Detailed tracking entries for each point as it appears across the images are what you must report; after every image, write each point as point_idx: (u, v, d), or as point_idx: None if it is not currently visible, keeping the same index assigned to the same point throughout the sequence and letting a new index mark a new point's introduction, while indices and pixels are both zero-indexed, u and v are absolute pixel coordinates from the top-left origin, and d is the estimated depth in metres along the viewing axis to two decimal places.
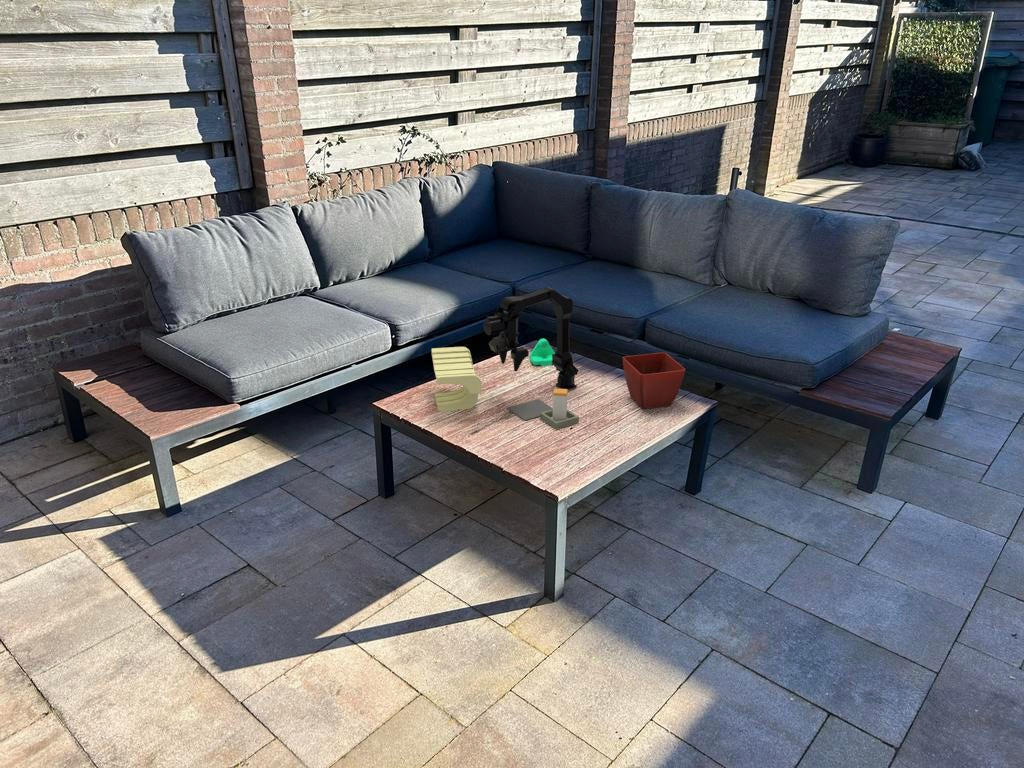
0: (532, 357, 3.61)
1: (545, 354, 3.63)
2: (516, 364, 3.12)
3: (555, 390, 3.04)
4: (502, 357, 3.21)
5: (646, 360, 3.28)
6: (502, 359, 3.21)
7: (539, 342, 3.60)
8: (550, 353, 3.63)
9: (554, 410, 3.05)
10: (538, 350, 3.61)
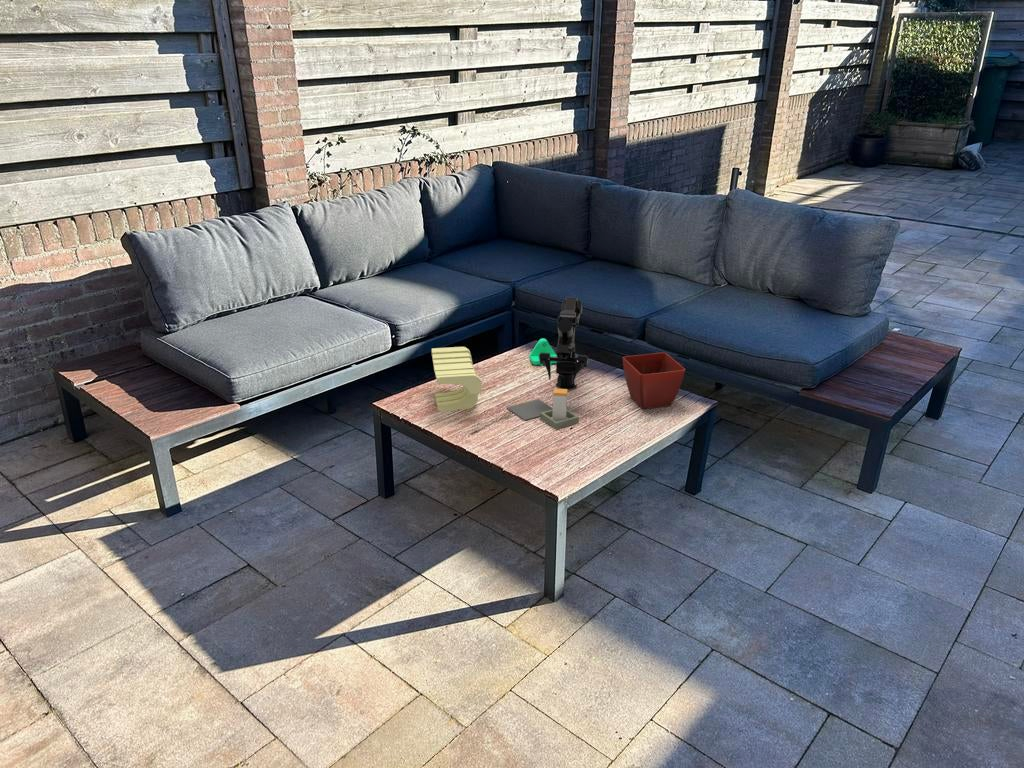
0: (532, 357, 3.61)
1: None
2: (577, 372, 3.10)
3: (555, 390, 3.04)
4: (550, 372, 3.12)
5: (646, 360, 3.28)
6: (550, 373, 3.11)
7: (539, 342, 3.60)
8: (550, 353, 3.64)
9: (554, 410, 3.05)
10: (538, 350, 3.62)
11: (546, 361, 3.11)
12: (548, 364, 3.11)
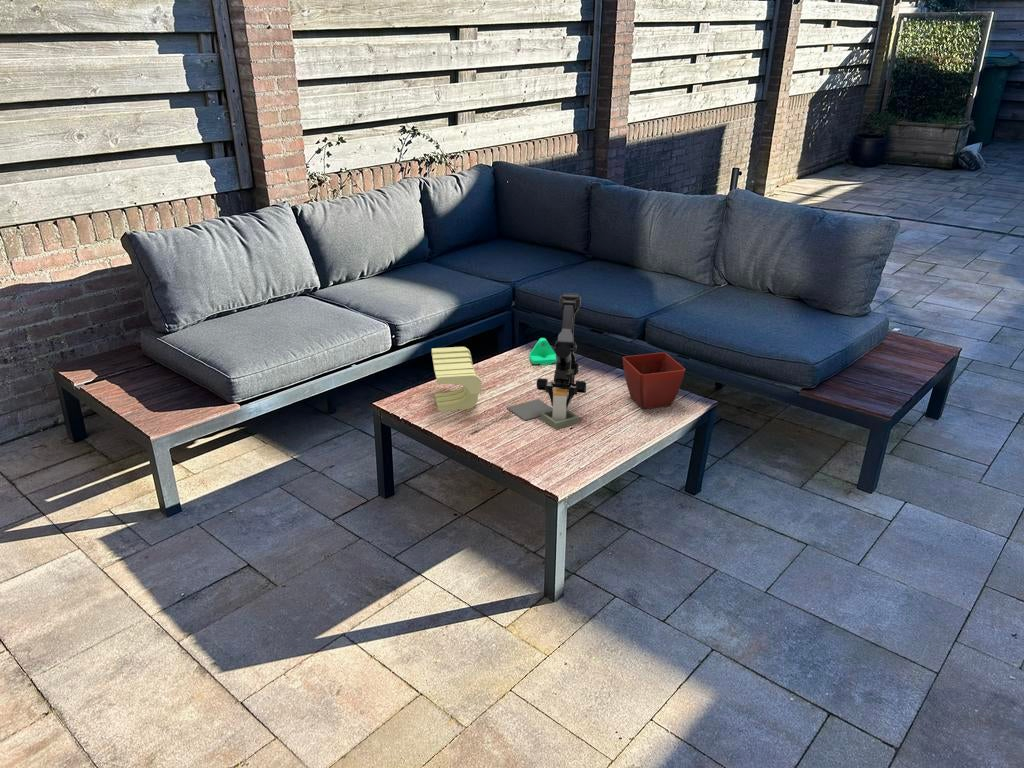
0: (532, 356, 3.62)
1: (545, 353, 3.64)
2: (570, 398, 3.05)
3: (555, 390, 3.04)
4: (552, 399, 3.06)
5: (646, 360, 3.28)
6: None
7: (539, 341, 3.61)
8: (550, 352, 3.64)
9: (554, 410, 3.05)
10: (538, 349, 3.62)
11: (549, 387, 3.05)
12: (551, 390, 3.05)
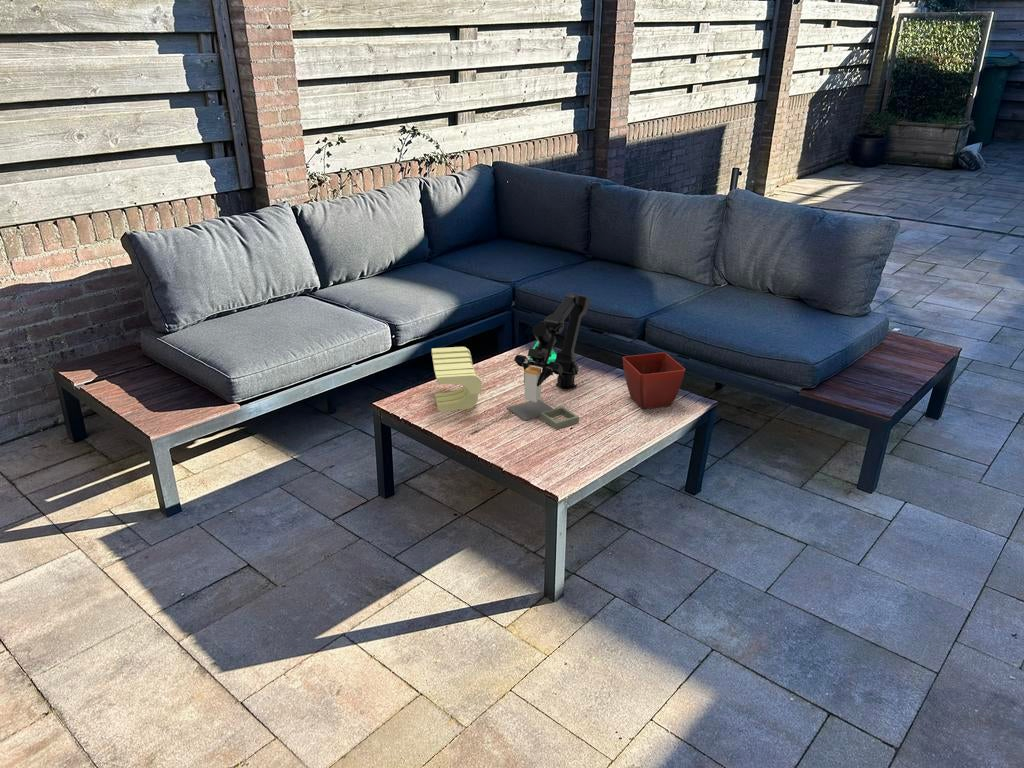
0: None
1: None
2: (542, 378, 3.05)
3: (528, 368, 3.06)
4: None
5: (646, 360, 3.28)
6: None
7: None
8: None
9: (525, 388, 3.07)
10: None
11: (524, 364, 3.08)
12: None
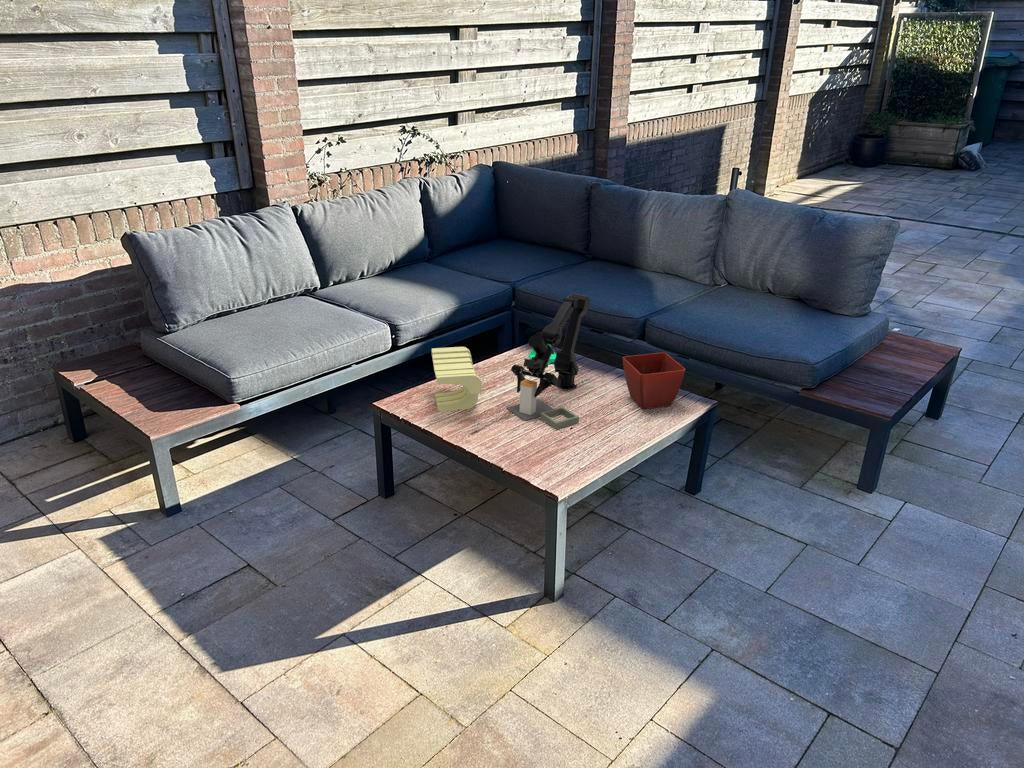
0: (531, 355, 3.63)
1: None
2: (540, 389, 3.08)
3: (524, 380, 3.10)
4: (519, 385, 3.12)
5: (646, 360, 3.28)
6: (519, 387, 3.11)
7: None
8: None
9: (521, 400, 3.11)
10: None
11: (517, 374, 3.12)
12: (519, 377, 3.12)
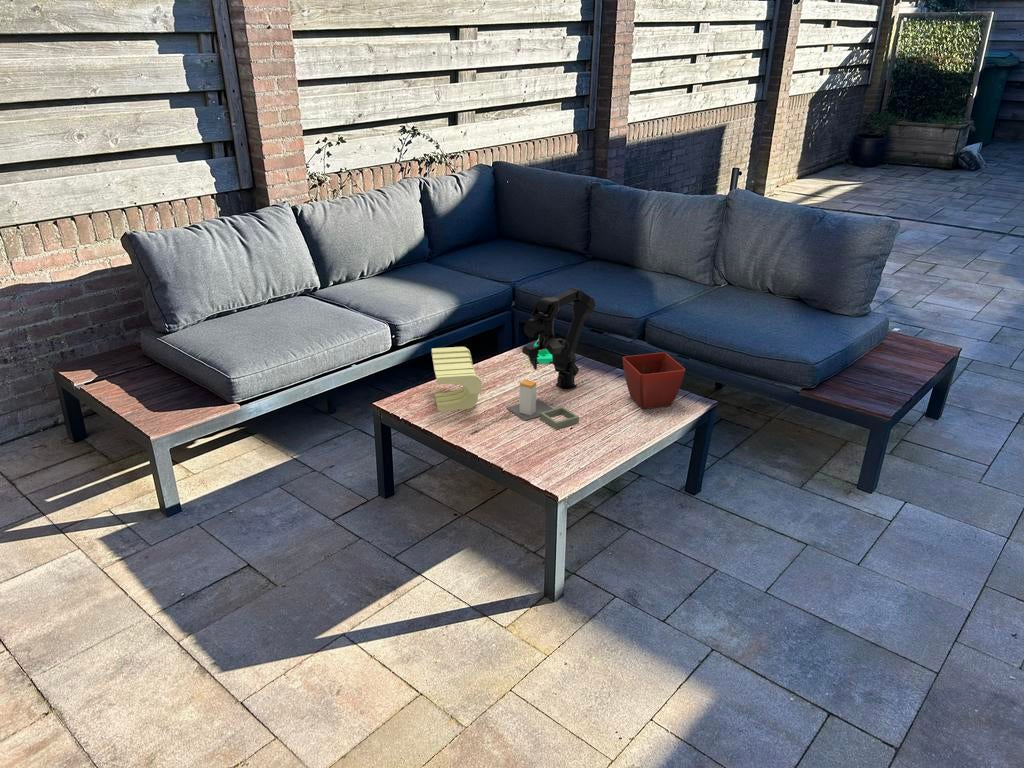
0: None
1: (544, 352, 3.65)
2: None
3: (524, 381, 3.10)
4: None
5: (646, 360, 3.28)
6: None
7: (538, 340, 3.62)
8: None
9: (520, 401, 3.11)
10: None
11: (535, 357, 3.15)
12: (536, 358, 3.17)
